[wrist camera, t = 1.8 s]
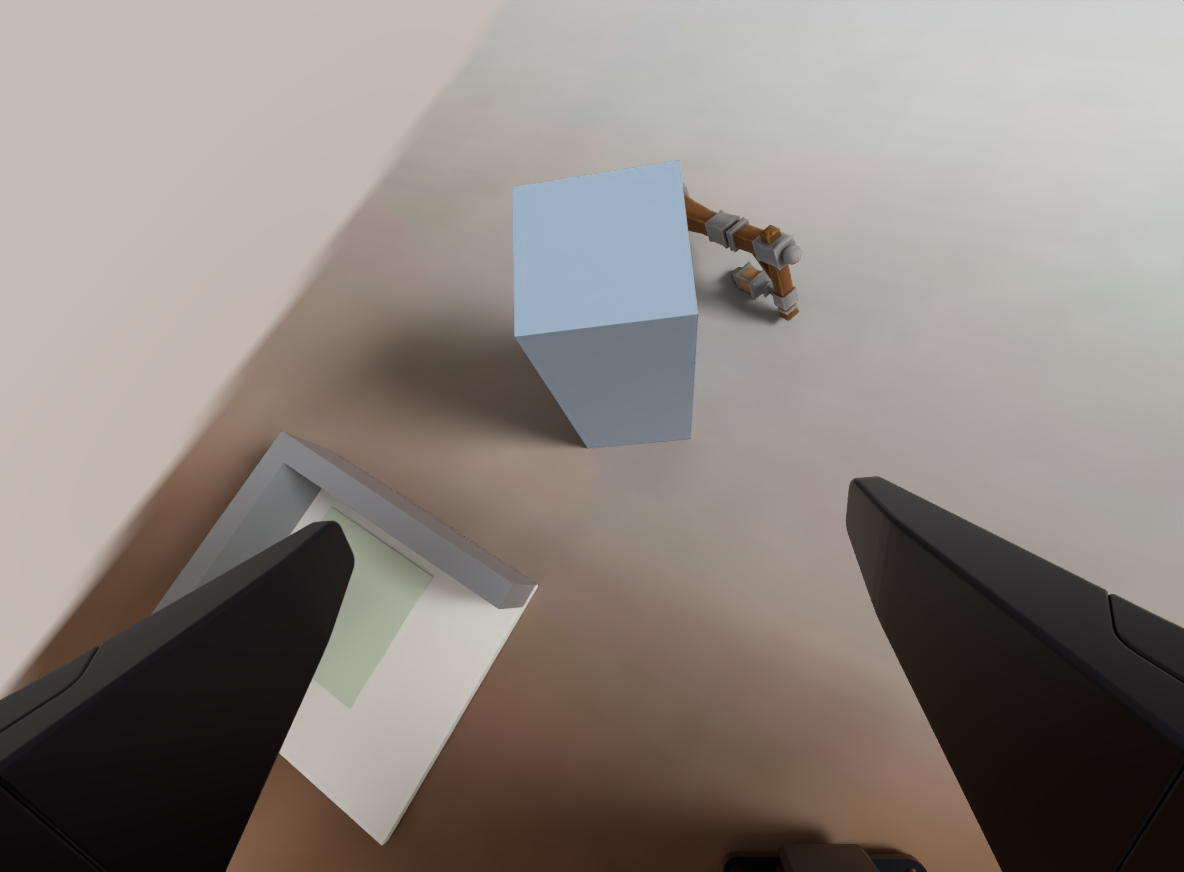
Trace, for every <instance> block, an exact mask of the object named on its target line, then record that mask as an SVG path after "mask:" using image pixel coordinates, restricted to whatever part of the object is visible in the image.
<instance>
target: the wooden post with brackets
mask: <svg viewBox="0 0 1184 872" xmlns="http://www.w3.org/2000/svg"><path fill="white" fill-rule="evenodd" d="M682 184H683V183H682ZM683 193H684V201H685V209H686V218H687V226H688V231H692V232H697V233H701V234H704V235H706V236H708V237H709V240H710V241H711V242H716V243H718V244H721V245H723V246H724V247H725V248H726V249H727V248H728V247H730V249H731V251H735V252H736V251H738V250H739V249H741V250H744V251H747V252H750V253H752V254H753V256H754V257H755V258H756V260H757V261H758V262H759V264H760V265H761V267H762V268H763V269H764V270H762V271H759V270H758V269H756V268H754V267H753V266H752V265H751V264H750V262H748V263H747V264H746V265H745V266H744V267H738V268H736V269H735V270H734V271H733V273H732V276H733V278H734V280H735V281H736V285H737V288H738V289H741V290H744V291H747V292H749V293H751V296H752V300H755V299H756V298H757V297H759V296H760V295H761V294H764V296H765V297H766V296H768V295H769V294H771V295H772V296H773V299H774V303H775V305H776V306H778V311H779V316H780V317H782V318H784V319H786V320H788V321H789V320H790V319H791V318H793V317H794V316H795V315H796V314H797V313H798V312H799V310H798V307H797V306H798V304H797V303H796V302H797V301H798V295H797V290H796V288H795V287H793V284H792V280H791V275H790V270H789V265H788V264H795V263H797V262H799V260H800V259H801V257H802V250H801V248H800V247H799V246H797V245H796V243H795V238H794V235H788V234H785V233H782V232H780V229H779V228H777V227H774V226H772V225H769V226H768V227H767V228H766V229H765V230H762V229H759V228H757V227H754V226H751V225H749V221H748V219H745V218H744V217H743V218H742V219H741V220H740V217H739V216H733V215H730V214H727V213H725V212H723V211H722V210H720V211H719V212H718V213H716V212H713V211H711V210H709V209H707V208H705V207H704V206H702V205H700V204H699V203H697V202H695V201H694V200H692V199H690V197H689V194H688V191H687V188H686V184H683ZM769 278H770V279H771V281H770V279H769Z"/></svg>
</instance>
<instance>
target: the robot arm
mask: <svg viewBox="0 0 1184 872" xmlns="http://www.w3.org/2000/svg"><path fill="white" fill-rule="evenodd" d="M846 527H847V532H848V535H849V538H850V541H851V544H852V547H853V550H854V553H855V555H856V558H857V561H858V564H859V567H860V570H861V573H862V575H863V578H864V581H865V584H866V587H867V590H868V593H869V596H870V598H871V601H872V604H873V607H874V609H875V612H876V614H877V617H878V619H879V621H880V623H881V625H882V628H883V630H884V632H885V634H886V636H887V638H888V640H889V642H890V644H891V646H892V648H893V650H894V652H895V654H896V656H897V658H898V660H899V662H900V664H901V666H902V668H903V670H904V673H905V675H906V677H907V679H908V681H909V683H910V685H911V687H912V689H913V691H914V693H915V695H916V697H917V699H918V701H919V703H920V705H921V707H922V709H923V711H924V713H925V715H926V717H927V719H928V721H929V723H930V725H931V728H932V730H933V732H934V734H935V736H936V738H937V740H938V742H939V744H940V746H941V748H942V750H943V752H944V754H945V756H946V758H947V760H948V762H949V764H950V766H951V768H952V770H953V772H954V774H955V776H956V778H957V780H958V783H959V785H960V787H961V789H962V791H963V793H964V795H965V797H966V799H967V801H968V803H969V805H970V807H971V809H972V811H973V813H974V815H975V817H976V819H977V821H978V823H979V825H980V827H981V829H982V831H983V833H984V835H985V838H986V840H987V842H988V844H989V846H990V848H991V850H992V852H993V854H994V856H995V858H996V860H997V862H998V864H999V866H1000V868H1001V870H1002V872H1184V628H1182V627H1180V626H1178V625H1176V624H1174V623H1172V622H1170V621H1168V620H1166V619H1164V618H1162V617H1160V616H1157V615H1155V614H1153V613H1151V612H1149V611H1147V610H1145V609H1143V608H1141V607H1139V606H1137V605H1135V604H1133V603H1131V602H1129V601H1127V600H1125V599H1123V598H1121V597H1119V596H1117V595H1115V594H1110V595H1109V596H1108V592H1107V591H1106V590H1105V589H1103V588H1101V587H1099V586H1097V585H1095V584H1093V583H1091V582H1089V581H1087V580H1085V579H1083V578H1081V577H1079V576H1077V575H1075V574H1073V573H1071V572H1069V571H1067V570H1065V569H1063V568H1061V567H1059V566H1057V565H1055V564H1053V563H1051V562H1049V561H1047V560H1045V559H1043V558H1041V557H1039V556H1037V555H1035V554H1033V553H1031V552H1029V551H1027V550H1025V549H1023V548H1021V547H1019V546H1017V545H1015V544H1013V543H1011V542H1009V541H1007V540H1005V539H1003V538H1001V537H999V536H997V535H995V534H993V533H991V532H989V531H987V530H985V529H983V528H981V527H979V526H977V525H975V524H973V523H971V522H969V521H967V520H965V519H963V518H961V517H959V516H957V515H955V514H953V513H951V512H949V511H947V510H945V509H943V508H941V507H939V506H937V505H935V504H933V503H931V502H929V501H927V500H925V499H923V498H921V497H919V496H917V495H915V494H913V493H911V492H909V491H907V490H905V489H903V488H901V487H899V486H897V485H895V484H893V483H891V482H889V481H887V480H885V479H883V478H881V477H876V476H875V477H863V478H854V479H853V480H852V481H851V483H850V485H849V492H848V503H847V513H846ZM354 564H355V558H354V554H353V551H352V549H351V547H350V545H349V543H348V540H347V538H346V536H345V534H344V532H343V530H342V527H341V526H340V524H339V523H338V522H336V521H333V520H331V521H318V522H313V523H311V524H309V525H307V526H305V527H303V528H302V529H300V530H298V531H297V532H295V533H293V534H291V535H290V536H288V537H286V538H284V539H283V540H281V541H279V542H277V543H276V544H274V545H272V546H270V547H269V548H267V549H265V550H263V551H262V552H260V553H258V554H256V555H255V556H253V557H251V558H249V559H248V560H246V561H244V562H242V563H241V564H239V565H237V566H235V567H234V568H232V569H230V570H229V571H227V572H225V573H223V574H222V575H220V576H218V577H216V578H215V579H213V580H211V581H209V582H208V583H206V584H204V585H202V586H201V587H199V588H197V589H195V590H194V591H192V592H190V593H188V594H187V595H185V596H183V597H181V598H180V599H178V600H176V601H174V602H173V603H171V604H169V605H168V606H166V607H164V608H162V609H161V610H159V611H157V612H155V613H154V614H152V615H150V616H148V617H147V618H145V619H143V620H141V621H140V622H138V623H136V624H134V625H133V626H131V627H129V628H127V629H126V630H124V631H122V632H120V633H119V634H117V635H115V636H113V637H112V638H110V639H108V640H107V641H105V642H103V643H102V644H101V645H100V647H94V648H92V649H91V650H89V651H87V652H85V653H84V654H82V655H80V656H78V657H77V658H75V659H73V660H71V661H70V662H68V663H66V664H64V665H63V666H61V667H59V668H57V669H55V670H54V671H52V672H50V673H48V674H47V675H45V676H43V677H41V678H39V679H38V680H36V681H34V682H32V683H31V684H29V685H27V686H25V687H23V688H21V689H20V690H18V691H16V692H14V693H12V694H10V695H8V696H7V697H5V698H3V699H1V700H0V872H226V869H227V867H228V865H229V863H230V860H231V858H232V856H233V854H234V852H235V849H236V847H237V845H238V843H239V841H240V838H241V836H242V834H243V832H244V829H245V827H246V825H247V823H248V821H249V818H250V816H251V814H252V812H253V810H254V807H255V805H256V803H257V801H258V798H259V796H260V794H261V792H262V790H263V787H264V785H265V783H266V781H267V779H268V776H269V774H270V772H271V770H272V767H273V765H274V763H275V761H276V759H277V756H278V754H279V752H280V750H281V747H282V745H283V743H284V741H285V739H286V736H287V734H288V732H289V730H290V728H291V725H292V723H293V721H294V719H295V716H296V714H297V712H298V710H299V708H300V705H301V703H302V701H303V699H304V697H305V694H306V692H307V690H308V688H309V685H310V683H311V681H312V679H313V677H314V674H315V672H316V670H317V668H318V665H319V663H320V661H321V659H322V657H323V654H324V652H325V650H326V647H327V645H328V643H329V640H330V637H331V634H332V632H333V629H334V626H335V623H336V620H337V617H338V614H339V611H340V608H341V605H342V602H343V599H344V596H345V593H346V590H347V587H348V584H349V581H350V578H351V575H352V572H353V569H354ZM736 865H739V866H742V867H743V868H744V870H745V872H905V871H906V869H908V868H913V869H915V870H916V872H927V871H926V869H925V868H924V867H923V866H922V864H921V863H920V862H919V861H918V860H917V859H916V858H915V857H913V856H912V855H909V854H905V853H866V852H865V851H864V850H863V849H862V848H861V847H860V846H859V845H857V844H783V845H782V846H781V847H780V849H779V850H778V852H746V851H735V852H730V853H729V854H728V855H726V856H725V858H724V860H723V868H722V869H723V872H731V869H732V868H733V866H736Z"/></svg>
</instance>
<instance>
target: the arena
mask: <svg viewBox="0 0 1184 872" xmlns="http://www.w3.org/2000/svg"><path fill="white" fill-rule="evenodd" d="M331 520H333V521H336V522H338V523H339V524H340V526H341V527H342V530H343V532H344V534H345V536H346V538H347V540H348V543H349V545H350V547H351V549H352V551H353V554H354V558H355V564H354V569H353V572H352V575H351V578H350V581H349V584H348V587H347V590H346V593H345V596H344V599H343V602H342V605H341V608H340V611H339V614H338V617H337V620H336V623H335V626H334V629H333V632H332V634H331V637H330V640H329V643H328V645H327V647H326V650H325V652H324V654H323V657H322V659H321V661H320V663H319V665H318V668H317V670H316V672H315V674H314V677H313V679H312V681H311V683H310V685H309V688H308V690H307V692H306V694H305V697H304V699H303V701H302V703H301V705H300V708H299V710H298V712H297V714H296V716H295V719H294V721H293V723H292V725H291V728H290V730H289V732H288V734H287V736H286V739H285V741H284V743H283V745H282V747H281V750H280V752H279V753H280V754H281V755H282V756H283V757H284V758H285V759H286V760H287V761H288V762H290V763H291V764H292V765H293V766H294V767H295V768H296V769H297V770H298V771H300V772H301V773H302V774H303V775H304V776H305V777H306V778H307V779H308V780H310V781H311V782H312V783H313V784H314V785H315V786H316V787H317V788H318V789H319V790H321V791H322V792H323V793H324V794H325V795H326V796H327V797H328V798H329V799H331V800H332V801H333V802H334V803H335V804H336V805H337V806H338V807H339V808H341V809H342V810H343V811H344V812H345V813H346V814H347V815H348V816H349V817H351V818H352V819H353V820H354V821H355V822H356V823H357V824H358V825H359V826H361V827H362V828H363V829H364V830H365V831H366V832H367V833H368V834H369V835H371V836H372V837H373V838H374V839H375V840H376V841H377V842H378V843H379V844H381V845H383V844H384V843H386V842H387V841H388V840H389V839H390V837H391V835H392V833H393V832H394V830H395V828H396V827H397V825H398V823H399V822H400V820H401V818H402V816H403V815H404V813H405V811H406V810H407V808H408V806H409V805H410V803H411V801H412V800H413V798H414V796H415V794H416V793H417V791H418V789H419V788H420V786H421V784H422V783H423V781H424V779H425V777H426V776H427V774H428V772H429V771H430V769H431V767H432V766H433V764H434V762H435V761H436V759H437V757H438V755H439V754H440V752H441V750H442V749H443V747H444V745H445V744H446V742H447V740H448V738H449V737H450V735H451V733H452V732H453V730H454V728H455V727H456V725H457V723H458V722H459V720H460V718H461V716H462V715H463V713H464V711H465V710H466V708H467V706H468V705H469V703H470V701H471V699H472V698H473V696H474V694H475V693H476V691H477V689H478V688H479V686H480V684H481V683H482V681H483V679H484V677H485V676H486V674H487V672H488V671H489V669H490V667H491V666H492V664H493V662H494V660H495V659H496V657H497V655H498V654H499V652H500V650H501V649H502V647H503V645H504V644H505V642H506V640H507V638H508V637H509V635H510V633H511V632H512V630H513V628H514V627H515V625H516V623H517V621H518V620H519V618H520V616H521V615H522V613H523V611H524V610H525V608H526V606H527V605H528V603H529V601H530V599H531V598H532V596H533V594H534V593H535V591H536V589H537V588H538V586H539V585H538V584H536V583H535V582H533V581H531V580H530V579H528V578H527V577H525V576H524V575H522V574H521V573H519V572H518V571H516V570H515V569H513V568H512V567H510V566H508V565H507V564H505V563H504V562H502V561H501V560H499V559H498V558H496V557H495V556H493V555H492V554H490V553H488V552H487V551H485V550H484V549H482V548H481V547H479V546H478V545H476V544H475V543H473V542H472V541H470V540H469V539H467V538H465V537H464V536H462V535H461V534H459V533H458V532H456V531H455V530H453V529H452V528H450V527H449V526H447V525H445V524H444V523H442V522H441V521H439V520H438V519H436V518H435V517H433V516H432V515H430V514H429V513H427V512H426V511H424V510H422V509H421V508H419V507H418V506H416V505H415V504H413V503H412V502H410V501H409V500H407V499H406V498H404V497H403V496H401V495H399V494H398V493H396V492H395V491H393V490H392V489H390V488H389V487H387V486H386V485H384V484H383V483H381V482H379V481H378V480H376V479H375V478H373V477H372V476H370V475H369V474H367V473H366V472H364V471H363V470H361V469H360V468H358V467H356V466H355V465H353V464H352V463H350V462H349V461H347V460H346V459H344V458H343V457H341V456H340V455H338V454H337V453H335V452H333V451H331V450H329V449H326V448H324V447H321V446H319V445H316V444H314V443H311V442H309V441H306V440H304V439H301V438H299V437H296V436H294V435H291V434H289V433H286V432H284V431H281V432H280V434H279V435H278V437H277V438H276V439H275V441H274V442H273V444H272V445H271V447H270V448H269V449H268V451H267V452H266V454H265V455H264V456H263V458H262V459H261V461H260V462H259V463H258V465H257V466H256V468H255V469H254V470H253V472H252V473H251V475H250V476H249V477H248V479H247V480H246V482H245V483H244V484H243V486H242V487H241V489H240V490H239V491H238V493H237V494H236V496H235V497H234V498H233V500H232V501H231V503H230V504H229V505H228V507H227V508H226V510H225V511H224V512H223V514H222V515H221V517H220V518H219V519H218V521H217V522H216V524H215V525H214V527H213V528H212V529H211V531H210V532H209V534H208V535H207V536H206V538H205V539H204V541H203V542H202V543H201V545H200V546H199V548H198V549H197V550H196V552H195V553H194V555H193V556H192V557H191V559H190V560H189V562H188V563H187V564H186V566H185V567H184V569H183V570H182V571H181V573H180V574H179V576H178V577H177V578H176V580H175V581H174V583H173V584H172V585H171V587H170V588H169V590H168V591H167V592H166V594H165V595H164V597H163V598H162V600H161V601H160V602H159V604H158V605H157V607H156V608H155V609H154V611H153V612H152V614H154V613H155V612H157V611H159V610H161V609H162V608H164V607H166V606H168V605H169V604H171V603H173V602H174V601H176V600H178V599H180V598H181V597H183V596H185V595H187V594H188V593H190V592H192V591H194V590H195V589H197V588H199V587H201V586H202V585H204V584H206V583H208V582H209V581H211V580H213V579H215V578H216V577H218V576H220V575H222V574H223V573H225V572H227V571H229V570H230V569H232V568H234V567H235V566H237V565H239V564H241V563H242V562H244V561H246V560H248V559H249V558H251V557H253V556H255V555H256V554H258V553H260V552H262V551H263V550H265V549H267V548H269V547H270V546H272V545H274V544H276V543H277V542H279V541H281V540H283V539H284V538H286V537H288V536H290V535H291V534H293V533H295V532H297V531H298V530H300V529H302V528H303V527H305V526H307V525H309V524H311V523H313V522H318V521H331ZM152 614H151V615H152Z"/></svg>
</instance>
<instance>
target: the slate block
mask: <svg viewBox="0 0 1184 872" xmlns="http://www.w3.org/2000/svg"><path fill="white" fill-rule="evenodd" d="M513 253H514V337H515V338H516V340H517V341H518V343H519V344H520V346H521V347H522V349H523V351H524V352H525V354H526V355H527V357H528V358H529V360H530V361H531V363H532V364H533V366H534V367H535V369H536V370H537V372H538V373H539V375H540V376H541V378H542V379H543V381H544V382H545V384H546V386H547V387H548V389H549V390H550V392H551V393H552V395H553V396H554V398H555V399H556V401H557V402H558V404H559V405H560V407H561V408H562V410H563V411H564V413H565V414H566V416H567V418H568V419H569V421H570V422H571V424H572V425H573V427H574V428H575V430H576V431H577V433H578V434H579V436H580V437H581V439H582V440H583V442H584V443H585V445H586V446H587V448H597V447H608V446H619V445H630V444H641V443H652V442H663V441H674V440H685V439H691V424H692V408H693V391H694V374H695V357H696V341H697V324H698V309H697V301H696V293H695V284H694V276H693V268H692V259H691V251H690V243H689V234H688V226H687V218H686V209H685V201H684V193H683V184H682V176H681V168H680V160H676V161H670V162H664V163H658V164H652V165H646V166H639V167H633V168H627V169H621V170H615V171H609V172H603V173H596V174H590V175H584V176H578V177H572V178H566V179H559V180H553V181H547V182H541V183H535V184H529V185H523V186H516V187H513Z"/></svg>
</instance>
